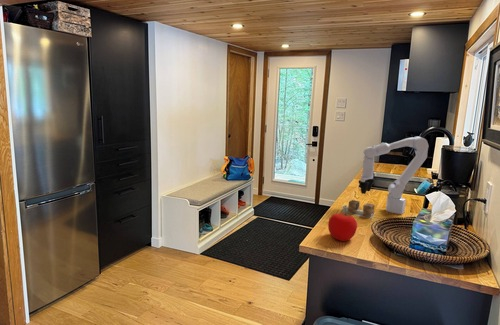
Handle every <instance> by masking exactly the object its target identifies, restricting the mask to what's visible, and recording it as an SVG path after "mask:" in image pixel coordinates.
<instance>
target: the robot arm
mask: <svg viewBox="0 0 500 325" xmlns="http://www.w3.org/2000/svg"><path fill="white" fill-rule="evenodd" d="M403 147H404V148H405V147H410V148H413V150H414V152H415V156H414V157H413V159H412V160H411V161H410V162H409V163H408V165H407V166H406V168H405V169H404V170H403V171H402V173H401V174H400V175H399V177H398V178H397V179H395V180H394V181H393V182H392V183H389V185H388V187H387V190H388V194H387V197H386V206H385V211H386V212H389V213H392V214H397V215H403V214H404V213H405V209H406V203H407V202H406V200H407V199H406V198H404V197H402V196H403V193H404V190H405V188H406V185H407V184H408V183H409V181H410V180H411V179H412V177H413V176H414V175H415V174H416V173H417V172H418V170H419V169H420V167H422V165H423V163H424V162H425V161H426V159H427V158H428V151H429V143H428V140H427V139H426V138H425V137H424V138H423V137H421V136H418V135H417V136H414V137H413V136H412V137H407V138H403V139H401V140H398V141H394V142H391V143H387V142H381V143H380V144H377V145H373V144H372V146H367V147H366V148H365V149H364V150H363V154H364V155H363V156H364V157H363V162H362V173H361V174H360V175H359V177H360V179H359V180H358V184H359V187H360V193H361V194H363V195H365V194H367V192H371V189H372V186H373V185H374V182H375V180H376V178H374V167H375V157H376V156H377V157H378V156H381V155H385V154H389V153H390V151H391V150H394V149H395V150H396V149H399V148H400V149H401V148H403Z"/></svg>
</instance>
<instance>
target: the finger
mask: <svg viewBox="0 0 500 325" xmlns="http://www.w3.org/2000/svg"><path fill="white" fill-rule="evenodd" d="M362 211H363V216H365V217H364V218H366V217H369V218H368V219H370V218H371V213H373V215H375V204H373V203H369V202H366V203H365V204H363V208H362ZM371 219H372V218H371Z"/></svg>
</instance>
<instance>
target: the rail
mask: <svg viewBox="0 0 500 325" xmlns="http://www.w3.org/2000/svg"><path fill="white" fill-rule="evenodd" d="M340 212H341V213H344V214H345V213H346V214H352V213H348V206H347V204H344V205H343V206H342V210H341V211H340ZM353 215H354V216H357V217H362V218H367V219H370V220H371V219H373V217H375V216H376V215H375V214H374V215H373V213H371V218H369V217H365V216H363V209H362V210H361V209H359V210H358V209H356V214H353Z"/></svg>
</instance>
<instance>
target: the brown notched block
mask: <svg viewBox="0 0 500 325" xmlns="http://www.w3.org/2000/svg"><path fill="white" fill-rule="evenodd" d="M347 207H348V213H347V214H349V213H352V214H356V209H358V210H360V201H359V200H354V199H350V200H349V201H348V206H347Z"/></svg>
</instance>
